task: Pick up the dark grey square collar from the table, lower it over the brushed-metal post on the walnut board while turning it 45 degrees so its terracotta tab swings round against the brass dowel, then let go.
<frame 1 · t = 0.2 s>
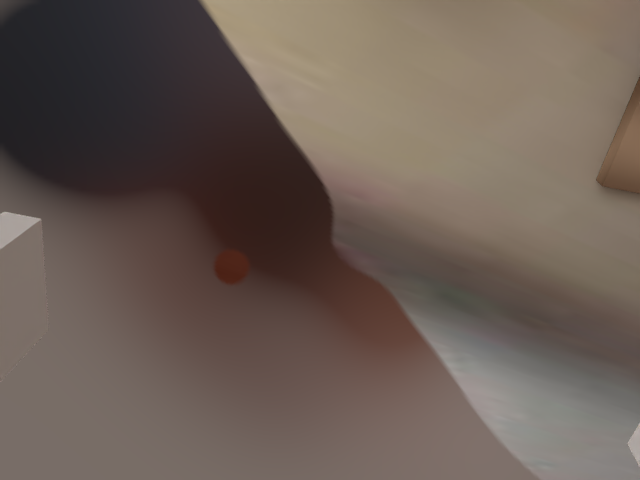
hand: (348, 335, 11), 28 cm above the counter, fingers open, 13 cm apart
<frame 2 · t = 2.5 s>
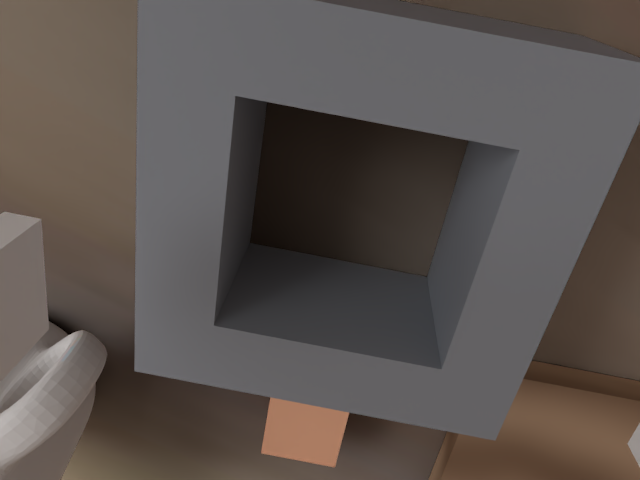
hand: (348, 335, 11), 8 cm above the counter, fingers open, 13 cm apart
grey rectangular frame block: (314, 369, 22), on the counter
cup: (54, 343, 23), on the counter
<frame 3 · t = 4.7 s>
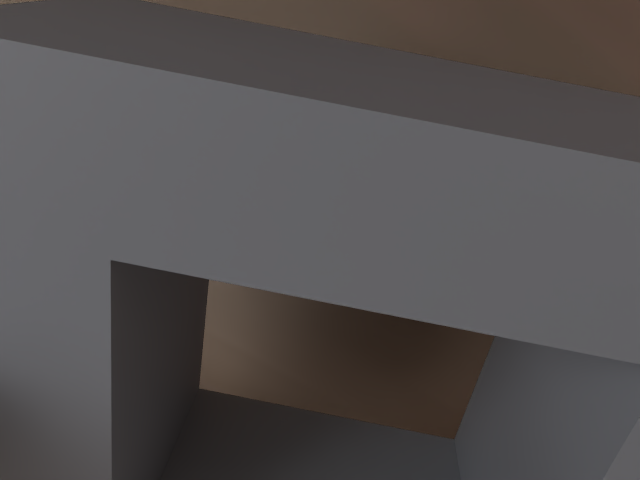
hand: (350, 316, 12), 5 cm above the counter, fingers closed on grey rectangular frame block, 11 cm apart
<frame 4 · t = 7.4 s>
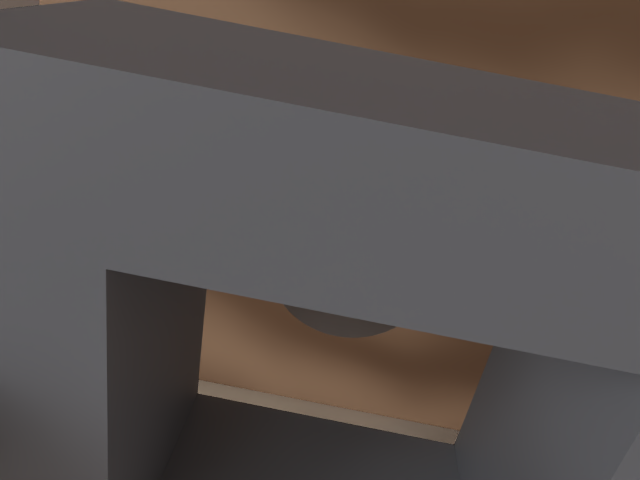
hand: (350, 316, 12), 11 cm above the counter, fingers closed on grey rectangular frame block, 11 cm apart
post board: (360, 154, 22), on the counter
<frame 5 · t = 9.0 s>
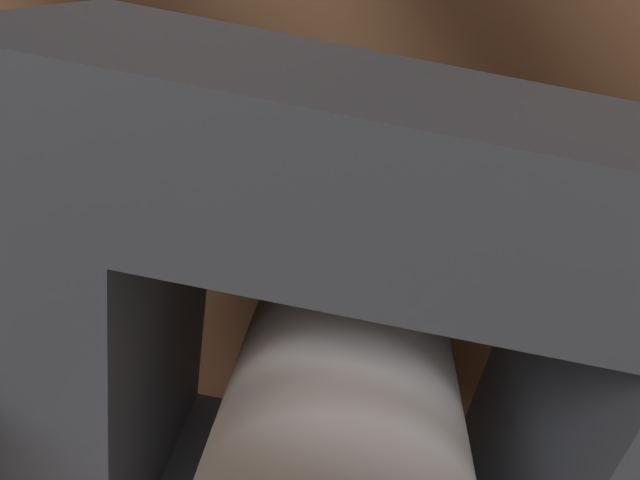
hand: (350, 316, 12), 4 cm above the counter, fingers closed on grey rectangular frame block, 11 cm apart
post board: (356, 233, 16), on the counter
when the fingers open (2 cm above the counter, at t = 10.3 s): grey rectangular frame block stays where it is, resting on post board.
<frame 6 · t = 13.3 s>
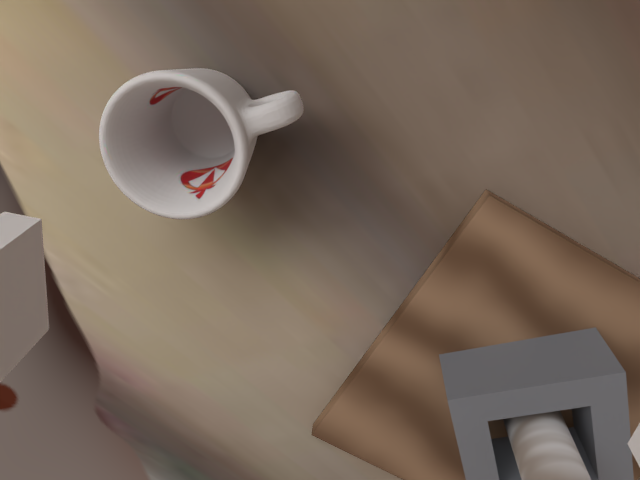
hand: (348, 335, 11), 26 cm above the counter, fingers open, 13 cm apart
post board: (521, 390, 43), on the counter
cup: (232, 112, 36), on the counter
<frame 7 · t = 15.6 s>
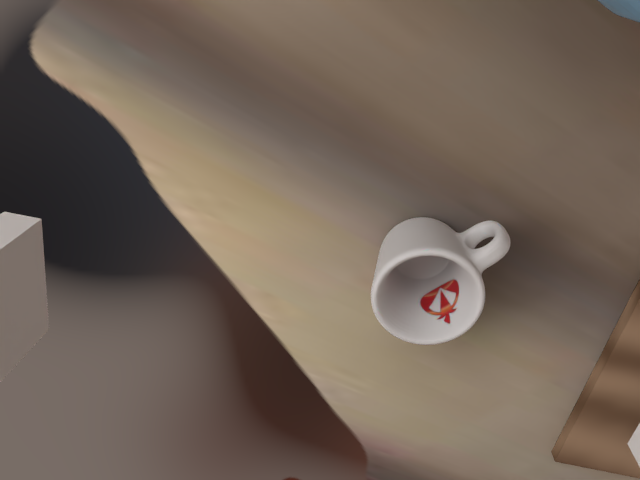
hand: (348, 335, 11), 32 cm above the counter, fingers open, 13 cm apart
cup: (434, 239, 45), on the counter
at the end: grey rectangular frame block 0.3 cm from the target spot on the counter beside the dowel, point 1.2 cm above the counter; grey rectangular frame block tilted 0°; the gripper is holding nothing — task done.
